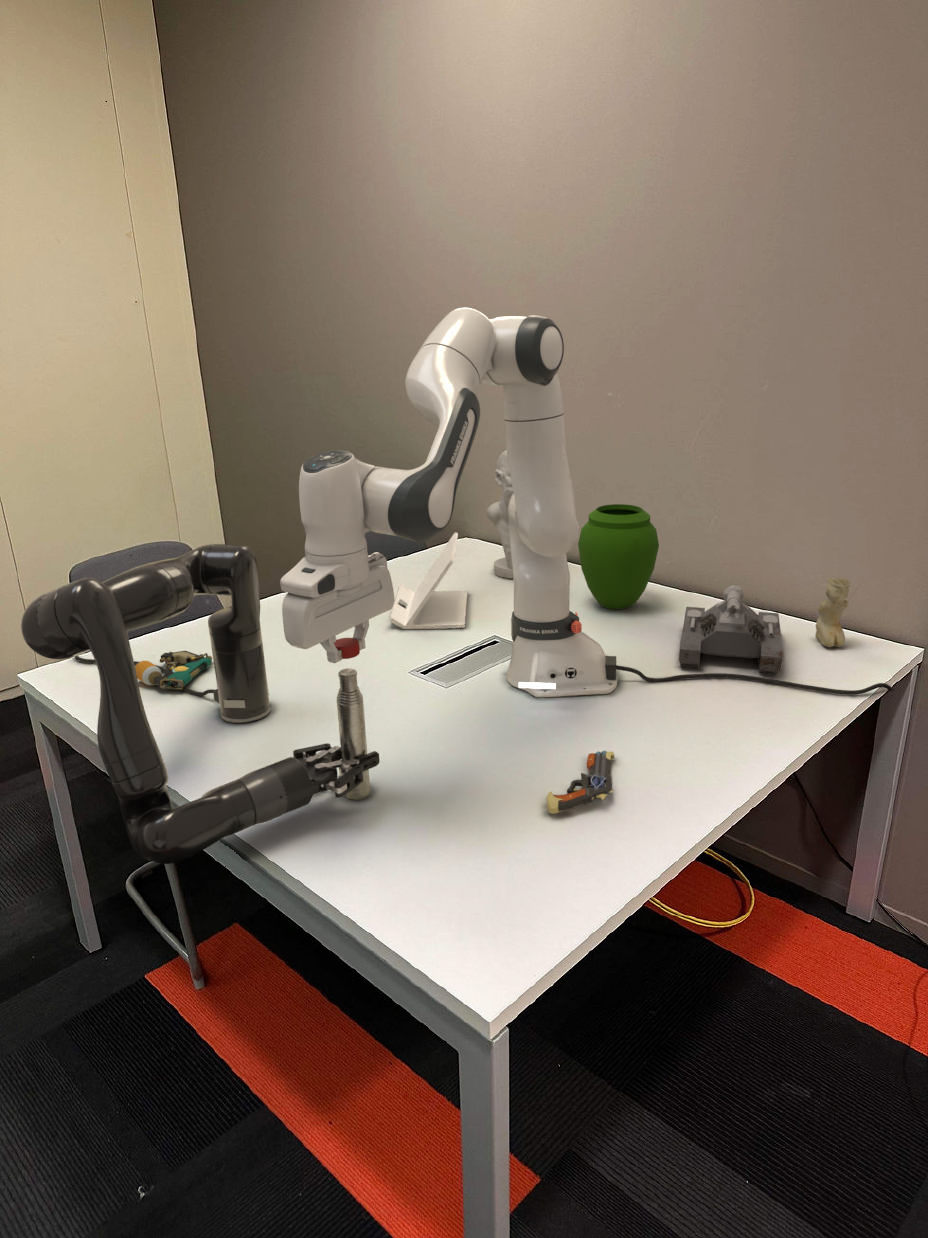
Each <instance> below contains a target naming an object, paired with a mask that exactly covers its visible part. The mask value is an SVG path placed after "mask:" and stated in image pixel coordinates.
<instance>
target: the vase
mask: <svg viewBox="0 0 928 1238" xmlns="http://www.w3.org/2000/svg"><path fill="white" fill-rule="evenodd" d="M587 516H588V517H587V518H588V521H587V522H586V523H585V524H584V525H583V526H582V527H581V529H580V532H579V537H578V541H577V546H578V554H579V562H580V569H581V571H582V574H583V577H584V580H585V583H586V585H587V588H588V590H589V591H590V594H592V597H593V598H594V600H595V601H596V602H597V603H598V604H599V605H600V606H602V607H604V608H606V609H609V610H625V609H628V608H630V607H632V606H634V604H636V602H638V601H639V599H640V597H641V596H642V595H643V593H644V592H645V590H646V588H647V586H648V584H649V581H650V579H651V577H652V574H653V572H654V570H655V566H656V562H657V557H658V552H659V548H660V544H659V543H660V542H659V537H658V531H657V528H656V527H655V526H654V524H653V523H652V522H651V515H650V514H649V512H647V511H645V510H644V509H643V508H642V507H641V506H638V505H633V504H622V503H621V504H619V503H616V504H615V503H614V504H604V505H601V506H598V507H597V508H595V509H594V510H592V511H591V512H590V513H589V514H588V515H587Z"/></svg>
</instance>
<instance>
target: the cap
mask: <svg viewBox="0 0 928 1238" xmlns="http://www.w3.org/2000/svg"><path fill="white" fill-rule="evenodd" d="M333 643H334V645H335V646H336V648H337V649H342V656H343V659H342V660H349V659H354V658H356V657H358V656H359V655H360V653H361V650H360V648H359V641H358V640H357V639H355V638H353V637H340V638H336V642H333Z"/></svg>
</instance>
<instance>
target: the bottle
mask: <svg viewBox="0 0 928 1238" xmlns="http://www.w3.org/2000/svg"><path fill="white" fill-rule="evenodd" d="M337 676H338V679H339V689H338V692H337V696H336V708H337V709H336V710H337V720H338V721H337V722H338V731H339V732H338V733H339V741H340V742H339V743H340V744H339V745H340V747H341V755H342V760H343V761H344V762H346V761H350V760H354V759H357V758H359V757H361V756H363V755H366V754H368V745H367V732H366V720H365V719H366V718H365V705H364V704H365V703H364V697H363V694H362V692H361V689H360V687H359V686H358V672H357V670H356V669H354V668H351V667H350V668H348V667H347V668H342V669H341V670H339V671H338V673H337ZM351 769H352V767H349V768H346V772H348V771H349V770H351ZM369 770H370V769H368V770H366V771H363V782H362V783H361V784H359V785H358V786H357V787H355V788H354V789H353V790H351V791H350V792H349V793H347V794H346V795H345V796H344V797H346V798H347V799H349V800H354V801H355V800H356V801H357V800H358V801H359V800H364V799H366V798H367V797H369V795H370V794H371V782H370V771H369ZM354 779H355V778H354Z"/></svg>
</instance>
